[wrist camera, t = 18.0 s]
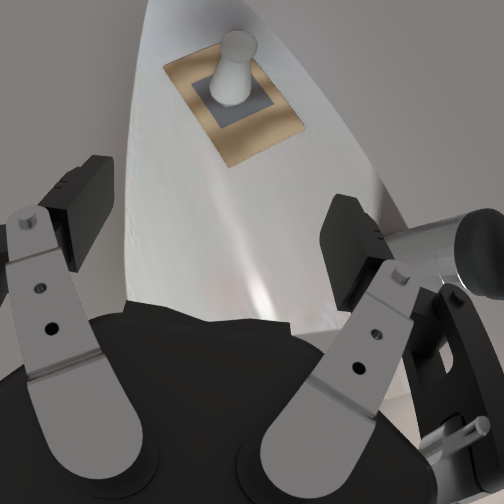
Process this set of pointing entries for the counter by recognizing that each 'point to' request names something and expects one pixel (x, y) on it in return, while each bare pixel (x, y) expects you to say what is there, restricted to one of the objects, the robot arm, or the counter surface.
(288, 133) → the wooden board
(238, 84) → the salt shaker
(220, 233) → the counter surface
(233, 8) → the counter surface
